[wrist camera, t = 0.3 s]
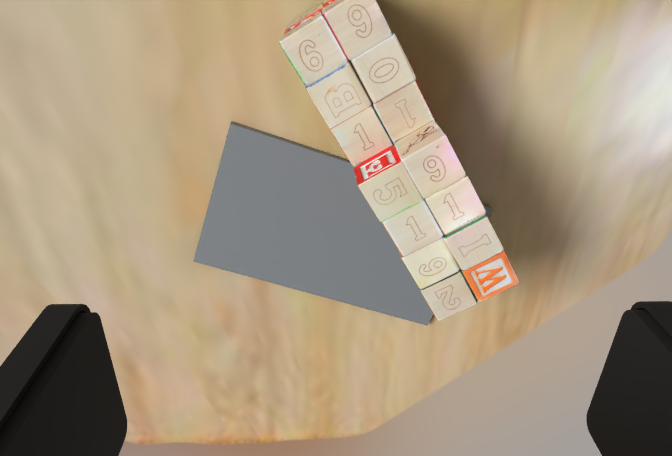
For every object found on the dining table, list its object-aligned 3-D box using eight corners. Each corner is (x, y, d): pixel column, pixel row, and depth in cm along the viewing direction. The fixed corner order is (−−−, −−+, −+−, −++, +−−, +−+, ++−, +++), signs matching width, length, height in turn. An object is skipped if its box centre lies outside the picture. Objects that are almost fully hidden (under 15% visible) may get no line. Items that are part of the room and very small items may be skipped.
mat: (231, 121, 42) (230, 123, 41) (490, 207, 46) (492, 210, 46) (195, 257, 48) (193, 261, 48) (425, 321, 53) (427, 325, 52)
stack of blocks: (284, 24, 38) (273, 47, 27) (358, -22, 37) (378, -18, 26) (409, 241, 47) (438, 325, 36) (472, 210, 46) (522, 286, 35)
